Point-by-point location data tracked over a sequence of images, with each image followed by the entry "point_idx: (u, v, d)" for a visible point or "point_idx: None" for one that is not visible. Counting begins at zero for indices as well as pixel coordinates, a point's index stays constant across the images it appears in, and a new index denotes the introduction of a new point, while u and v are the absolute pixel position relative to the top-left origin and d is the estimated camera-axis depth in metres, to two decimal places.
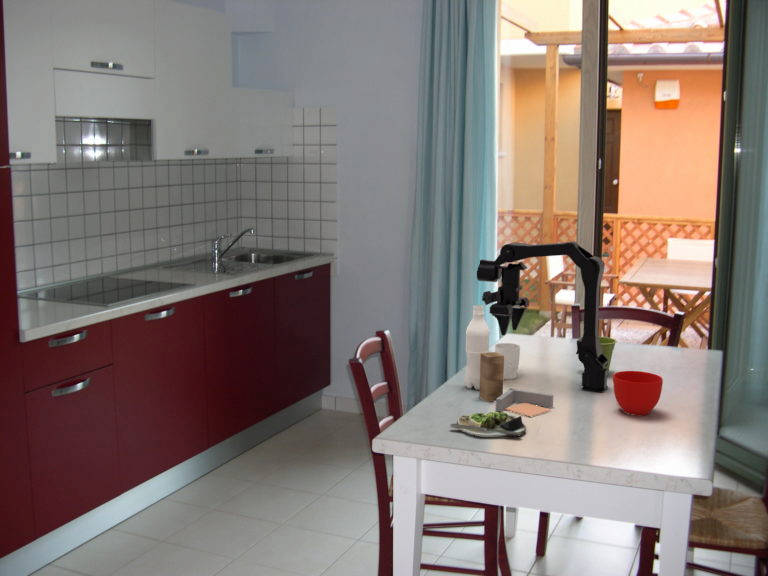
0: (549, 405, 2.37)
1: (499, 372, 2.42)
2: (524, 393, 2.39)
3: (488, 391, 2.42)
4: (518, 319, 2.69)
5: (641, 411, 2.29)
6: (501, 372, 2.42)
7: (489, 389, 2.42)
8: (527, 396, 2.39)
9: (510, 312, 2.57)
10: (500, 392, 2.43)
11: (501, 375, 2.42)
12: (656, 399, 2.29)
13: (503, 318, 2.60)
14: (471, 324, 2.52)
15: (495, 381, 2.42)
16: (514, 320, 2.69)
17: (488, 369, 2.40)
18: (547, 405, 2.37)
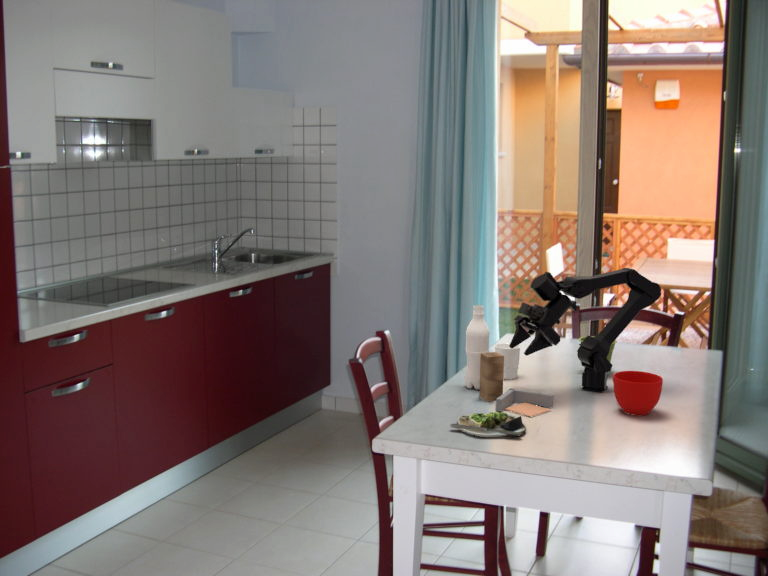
0: (549, 405, 2.37)
1: (499, 372, 2.42)
2: (524, 393, 2.39)
3: (488, 391, 2.42)
4: (520, 340, 2.51)
5: (641, 411, 2.29)
6: (501, 372, 2.42)
7: (489, 389, 2.42)
8: (527, 396, 2.39)
9: None
10: (500, 392, 2.43)
11: (501, 375, 2.42)
12: (656, 399, 2.29)
13: (540, 341, 2.41)
14: (471, 324, 2.52)
15: (495, 381, 2.42)
16: (517, 339, 2.50)
17: (488, 369, 2.40)
18: (547, 405, 2.37)
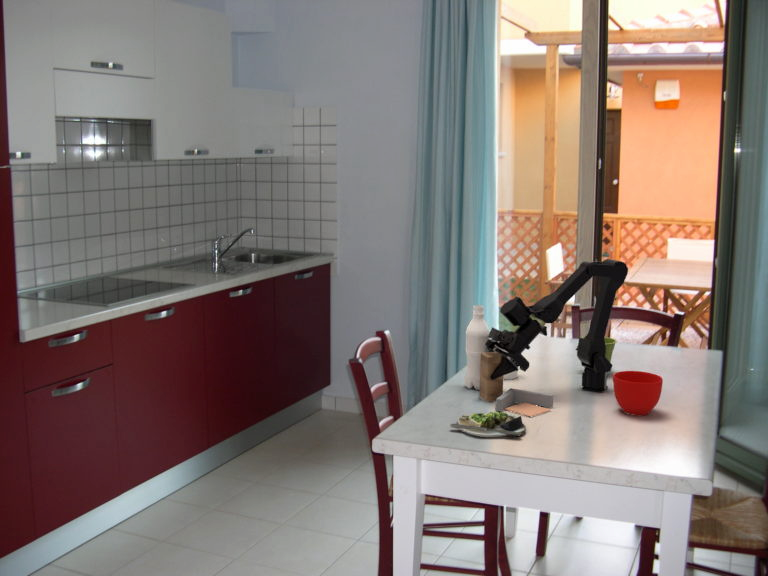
0: (549, 405, 2.37)
1: None
2: (524, 393, 2.39)
3: (488, 391, 2.42)
4: None
5: (641, 411, 2.29)
6: None
7: (489, 389, 2.42)
8: (527, 396, 2.39)
9: None
10: (500, 392, 2.43)
11: None
12: (656, 399, 2.29)
13: (506, 366, 2.41)
14: (471, 324, 2.52)
15: (495, 381, 2.42)
16: None
17: (488, 369, 2.40)
18: (547, 405, 2.37)
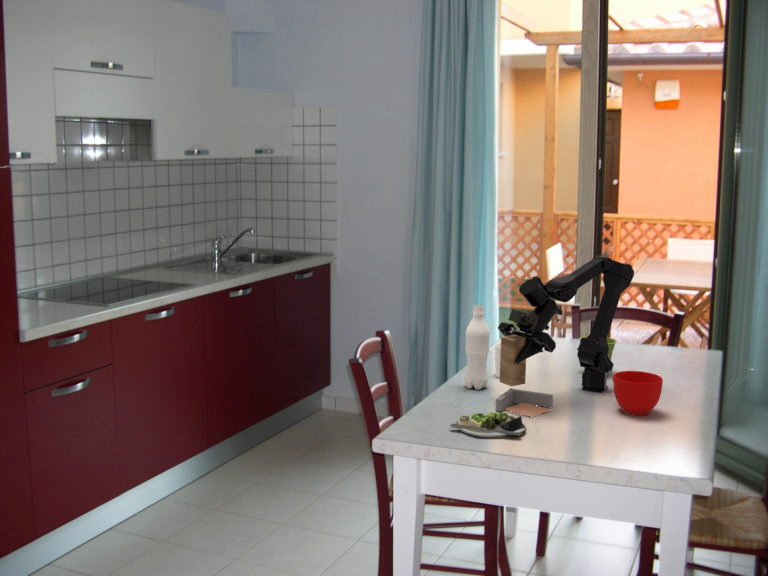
0: (549, 405, 2.37)
1: None
2: (524, 393, 2.39)
3: (513, 375, 2.33)
4: None
5: (641, 411, 2.29)
6: None
7: (514, 373, 2.33)
8: (527, 396, 2.39)
9: None
10: (523, 376, 2.35)
11: None
12: (656, 399, 2.29)
13: (530, 348, 2.33)
14: (471, 324, 2.52)
15: (519, 364, 2.34)
16: None
17: (513, 352, 2.32)
18: (547, 405, 2.37)
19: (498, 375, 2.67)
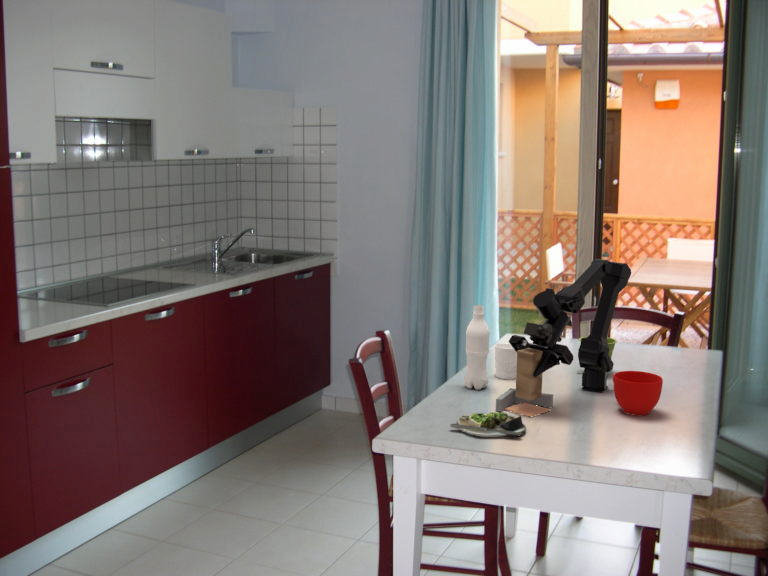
0: (549, 405, 2.37)
1: None
2: None
3: (531, 390, 2.30)
4: None
5: (641, 411, 2.29)
6: None
7: (532, 387, 2.30)
8: None
9: None
10: (540, 390, 2.32)
11: None
12: (656, 399, 2.29)
13: (547, 361, 2.31)
14: (471, 324, 2.52)
15: (536, 378, 2.31)
16: None
17: (531, 366, 2.28)
18: (547, 405, 2.37)
19: (498, 375, 2.67)
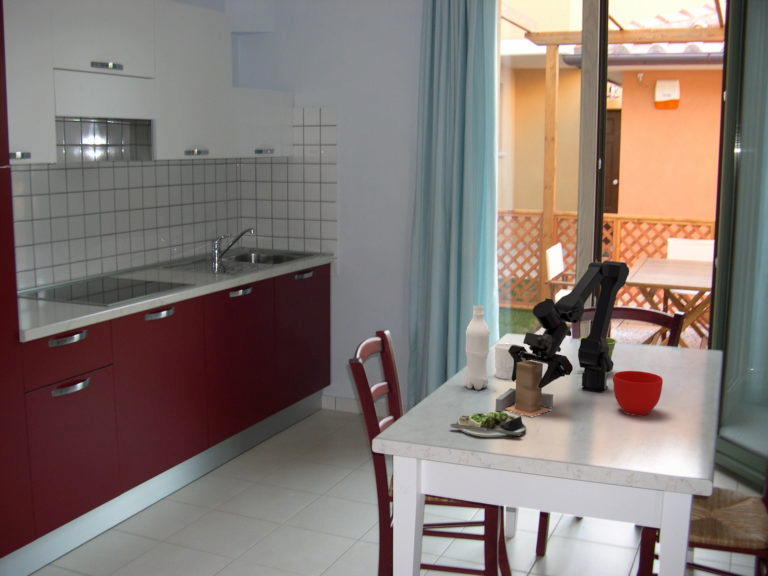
0: (549, 405, 2.37)
1: (539, 380, 2.31)
2: None
3: (530, 402, 2.30)
4: None
5: (641, 411, 2.29)
6: (540, 380, 2.32)
7: (531, 400, 2.30)
8: None
9: None
10: (539, 402, 2.33)
11: None
12: (656, 399, 2.29)
13: (552, 372, 2.30)
14: (471, 324, 2.52)
15: (536, 390, 2.31)
16: None
17: (531, 379, 2.29)
18: (547, 405, 2.37)
19: (498, 375, 2.67)
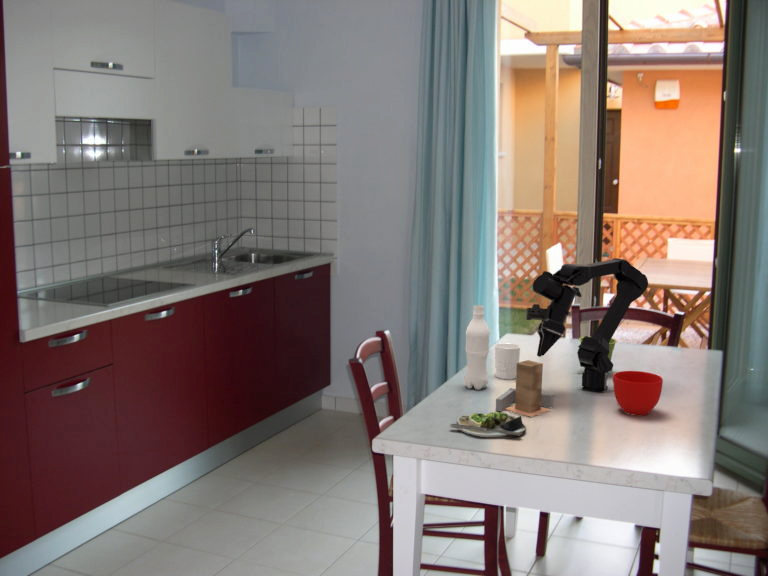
0: (549, 405, 2.37)
1: (539, 380, 2.31)
2: None
3: (530, 402, 2.30)
4: None
5: (641, 411, 2.29)
6: (540, 380, 2.32)
7: (531, 400, 2.30)
8: None
9: None
10: (539, 402, 2.33)
11: (540, 384, 2.32)
12: (656, 399, 2.29)
13: (550, 337, 2.38)
14: (471, 324, 2.52)
15: (536, 390, 2.31)
16: None
17: (531, 379, 2.29)
18: (547, 405, 2.37)
19: (498, 375, 2.67)
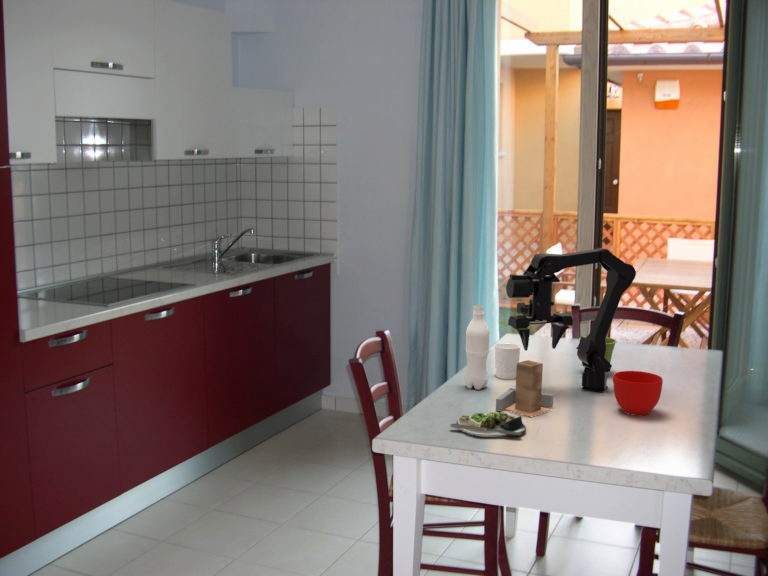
0: (549, 405, 2.37)
1: (539, 380, 2.31)
2: None
3: (530, 402, 2.30)
4: (556, 337, 2.50)
5: (641, 411, 2.29)
6: (540, 380, 2.32)
7: (531, 400, 2.30)
8: None
9: (524, 326, 2.43)
10: (539, 402, 2.33)
11: (540, 384, 2.32)
12: (656, 399, 2.29)
13: (523, 332, 2.47)
14: (471, 324, 2.52)
15: (536, 390, 2.31)
16: (553, 338, 2.51)
17: (531, 379, 2.29)
18: (547, 405, 2.37)
19: (498, 375, 2.67)
